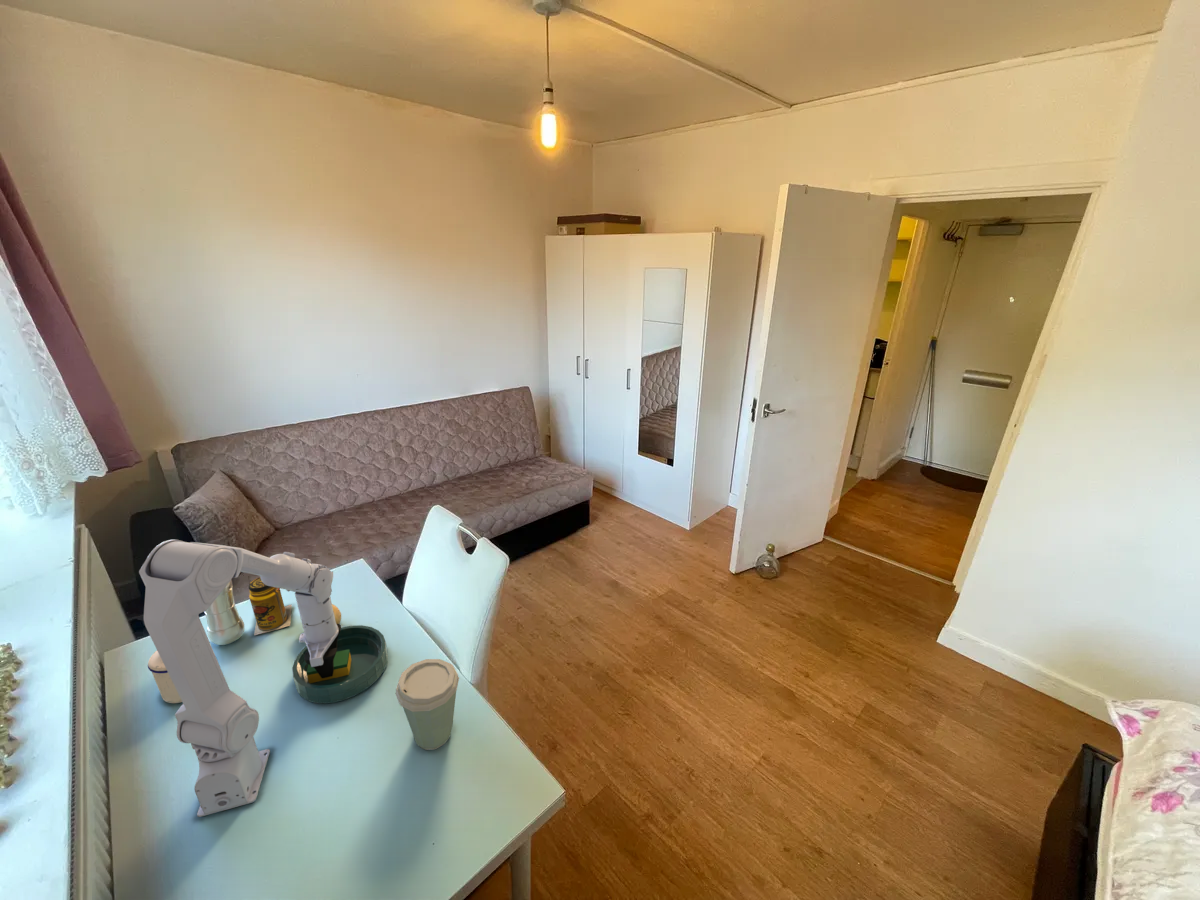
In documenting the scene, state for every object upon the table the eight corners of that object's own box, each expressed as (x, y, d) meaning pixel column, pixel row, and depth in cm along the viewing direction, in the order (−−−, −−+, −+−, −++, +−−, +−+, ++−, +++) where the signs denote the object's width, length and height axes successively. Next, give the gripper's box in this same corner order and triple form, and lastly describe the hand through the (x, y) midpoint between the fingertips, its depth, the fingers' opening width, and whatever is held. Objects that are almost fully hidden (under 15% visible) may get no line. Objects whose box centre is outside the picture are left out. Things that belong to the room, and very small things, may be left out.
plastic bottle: (214, 633, 114) (191, 561, 106) (249, 625, 117) (228, 554, 109) (207, 652, 108) (182, 578, 101) (244, 643, 111) (222, 570, 104)
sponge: (351, 659, 107) (349, 649, 106) (349, 674, 103) (346, 664, 102) (312, 667, 105) (310, 657, 104) (309, 683, 101) (306, 672, 100)
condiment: (254, 636, 113) (241, 594, 109) (257, 613, 120) (246, 573, 116) (290, 626, 117) (279, 585, 112) (292, 605, 124) (282, 565, 119)
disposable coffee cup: (442, 701, 98) (435, 644, 93) (475, 733, 92) (470, 673, 87) (393, 738, 91) (382, 677, 85) (425, 775, 84) (416, 712, 79)
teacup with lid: (225, 682, 101) (210, 638, 97) (170, 713, 94) (152, 667, 90) (201, 656, 107) (186, 614, 103) (148, 684, 100) (130, 639, 96)
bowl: (385, 692, 100) (382, 676, 98) (287, 715, 94) (283, 698, 93) (390, 633, 115) (387, 618, 114) (305, 650, 110) (302, 634, 108)
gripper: (302, 597, 104) (314, 647, 109) (286, 645, 91) (300, 699, 96) (339, 591, 106) (349, 640, 111) (329, 637, 93) (340, 690, 98)
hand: (329, 667), depth 103 cm, fingers closed on sponge, 4 cm apart
